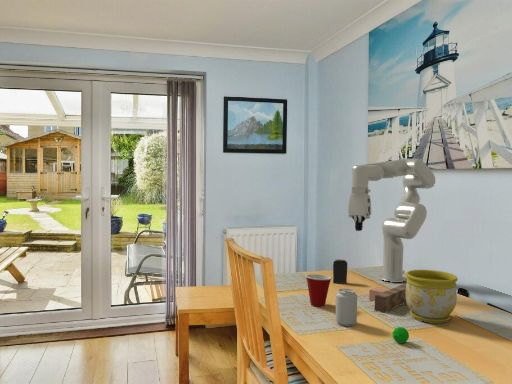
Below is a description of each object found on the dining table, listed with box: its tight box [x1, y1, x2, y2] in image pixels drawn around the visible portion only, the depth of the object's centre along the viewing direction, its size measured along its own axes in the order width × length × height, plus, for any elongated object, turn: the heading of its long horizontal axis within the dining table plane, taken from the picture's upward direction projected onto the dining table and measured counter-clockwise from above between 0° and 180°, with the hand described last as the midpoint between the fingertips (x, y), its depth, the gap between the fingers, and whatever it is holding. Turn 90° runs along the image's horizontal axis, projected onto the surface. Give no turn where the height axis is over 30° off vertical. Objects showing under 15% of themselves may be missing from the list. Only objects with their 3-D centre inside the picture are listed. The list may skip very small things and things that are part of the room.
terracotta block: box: [368, 286, 389, 302], centre depth 185 cm, size 6×8×5 cm
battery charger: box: [332, 258, 348, 284], centre depth 216 cm, size 7×4×11 cm, turn 83°
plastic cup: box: [304, 273, 333, 308], centre depth 179 cm, size 11×11×12 cm
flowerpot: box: [405, 269, 458, 324], centre depth 164 cm, size 18×18×16 cm
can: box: [334, 288, 358, 327], centre depth 157 cm, size 8×8×12 cm
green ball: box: [392, 326, 410, 344], centre depth 140 cm, size 5×5×5 cm
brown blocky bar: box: [374, 282, 407, 313], centre depth 181 cm, size 28×4×6 cm, turn 137°
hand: (358, 230), depth 206 cm, fingers closed
